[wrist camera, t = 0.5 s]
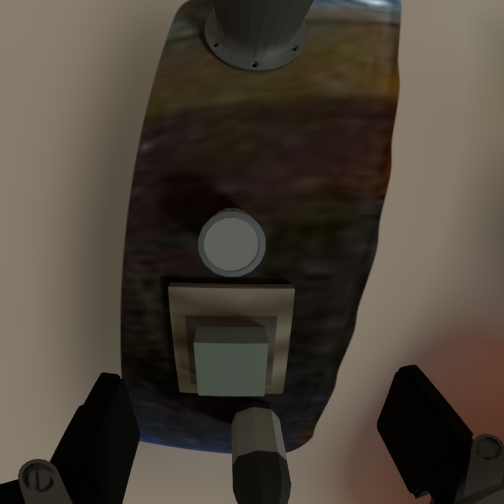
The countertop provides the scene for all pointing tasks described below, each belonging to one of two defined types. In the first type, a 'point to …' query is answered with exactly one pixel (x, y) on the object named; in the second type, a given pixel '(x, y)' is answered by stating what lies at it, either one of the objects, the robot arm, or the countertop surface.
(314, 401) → the countertop surface
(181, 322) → the board
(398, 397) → the robot arm
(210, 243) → the grey tapered cup
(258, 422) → the wine bottle
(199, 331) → the sage block
